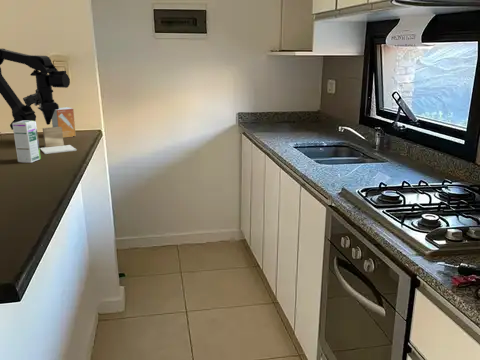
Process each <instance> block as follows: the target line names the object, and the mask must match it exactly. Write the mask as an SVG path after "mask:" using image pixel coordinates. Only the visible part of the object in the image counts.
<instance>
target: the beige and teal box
mask: <svg viewBox="0 0 480 360" xmlns="http://www.w3.org/2000/svg"><path fill="white" fill-rule="evenodd" d="M42 135H43V144H44V148H45V147H55V146H64V145H65V143H64V138H63V133H62V127H53V126H52V127H42Z"/></svg>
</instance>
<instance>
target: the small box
mask: <svg viewBox="0 0 480 360" xmlns="http://www.w3.org/2000/svg"><path fill="white" fill-rule="evenodd" d="M51 122H52V123H51V124H52V127H62V133H63V139H64V138H66V139H67V138H73V136H75V137H76V136H77V135H76V124H75V122H76V121H75V112H74V108H73V107H69V106H68V107H66V106H65V107H59V109H56V110H55V111H54V114H53V116H52V119H51Z"/></svg>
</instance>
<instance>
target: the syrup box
mask: <svg viewBox="0 0 480 360" xmlns="http://www.w3.org/2000/svg"><path fill="white" fill-rule="evenodd" d="M11 123H12V122H11ZM12 125H13V130H12V131H13V138H14V145H15V150H16V156H17V157H16V158H17V162H18V163H24V164H26V163H27V164H28V163H34V162H36V161H39V160H41V159H42V157H41V150H40V148H41V147H40V141H39V134H38V127H37V125H38V124H37V122H36V120H35V121H32V120H25V121H20V122H16V123H12Z"/></svg>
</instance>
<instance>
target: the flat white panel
mask: <svg viewBox="0 0 480 360" xmlns="http://www.w3.org/2000/svg"><path fill="white" fill-rule="evenodd" d="M39 148H40V152H42V153H43V154H44V155H47V154H48V155H49V154H58V153H66V152H67V153H68V152H76V151H77V148H76V147H74V146H72V144H67V145H65V144H64V146H55V147H45V146H44V147H39Z"/></svg>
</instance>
